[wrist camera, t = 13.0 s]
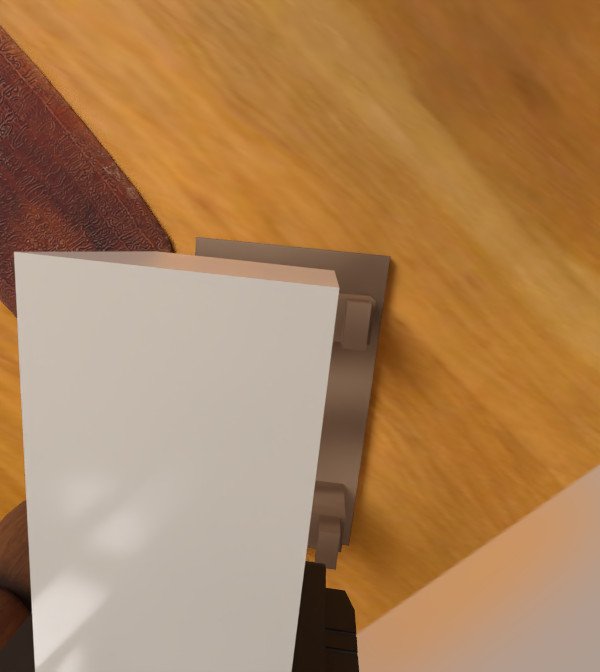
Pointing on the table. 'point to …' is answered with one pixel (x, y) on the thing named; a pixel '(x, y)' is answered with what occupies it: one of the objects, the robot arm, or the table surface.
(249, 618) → the white rectangular block
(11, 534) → the wooden figurine
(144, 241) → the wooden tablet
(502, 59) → the table surface
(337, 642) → the robot arm
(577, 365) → the table surface
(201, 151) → the table surface
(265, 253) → the rack
